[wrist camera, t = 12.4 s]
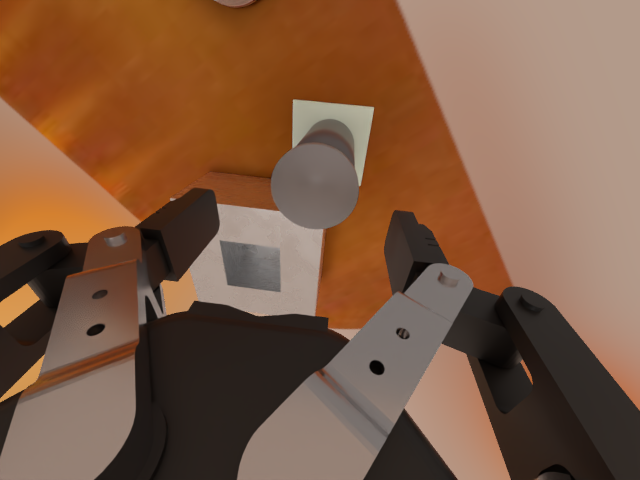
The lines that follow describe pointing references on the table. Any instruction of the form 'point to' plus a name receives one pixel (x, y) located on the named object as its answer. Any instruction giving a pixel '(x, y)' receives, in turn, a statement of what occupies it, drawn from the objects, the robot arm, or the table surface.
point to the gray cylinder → (318, 177)
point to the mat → (350, 115)
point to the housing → (256, 251)
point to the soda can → (235, 3)
